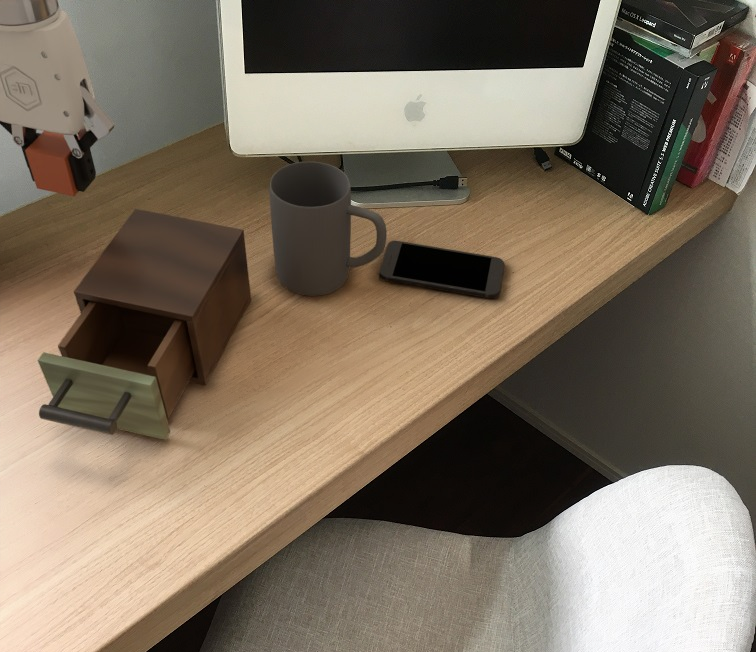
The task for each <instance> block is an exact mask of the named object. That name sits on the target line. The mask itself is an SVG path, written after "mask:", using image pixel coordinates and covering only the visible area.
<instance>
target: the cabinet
mask: <svg viewBox="0 0 756 652" xmlns="http://www.w3.org/2000/svg"><path fill="white" fill-rule="evenodd" d="M247 258H248V257H247V248H246V240H245V230H244V229H241V228H237V227H231V226H226V225H222V224H215V223H211V222H207V221H206V222H205V221H201V220H195V219H190V218H186V217H181V216H175V215H170V214H165V213H160V212H156V211H155V212H154V211H149V210H146V209H140V208H134V209H133V211H132V212H131V214H129V216H128V217H127V218H126V220H125V222H124V223H123V224H122V226H121V227H120V228H119V230H118V231H117V232H116V234H115V235H114V236H113V238H112V239H111V240H110V242H109V243H108V244H107V246H106V247H105V249H104V250H103V251H102V252H101V254H100V255H99V256H98V258H97V259H96V261H95V262H94V263H93V264H92V266H91V267H90V269H88V271H87V273H86V274H85V275H84V277H82V280H80V282H79V284H78V285H77V286H76V287H75V288H74V290H73V294H74V298H75V300H76V303H77V307H78V308H79V312H80V314H81V313H82V311H83V310H84V308H85V307H86V306H87V304H88V303H89V302H90V301H95V302H100V303H105V304H109V305H114V306H119V307H123V308H128V309H133V310H138V311H142V312H147V313H152V314H157V315H161V316H166V317H171V318H176V319H180V320H185V321H187V326H188V331H189V336H190V341H191V346H192V351H193V356H194V361H195V365H196V370H195V371H194V373H193V375H192V377H191V379H190V381H189V382H190V383H195V384H199V385H204V386H207V383H208V381H209V380H210V379H211V376H212V374H213V372H214V371H215V369H216V367H217V365H218V363H219V361H220V359H221V358H222V356H223V354H224V352H225V350H226V349H227V346H228V344H229V342H230V340H231V338H232V336H233V334H234V333H235V331H236V329H237V327H238V325H239V324H240V322H241V320H242V318H243V316H244V314H245V312H246V311H247V309H248V307H249V305H250V303H251V301H252V294H251V285H250V276H249V267H248V259H247ZM189 382H188V383H189Z"/></svg>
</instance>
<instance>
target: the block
mask: <svg viewBox="0 0 756 652" xmlns="http://www.w3.org/2000/svg"><path fill="white" fill-rule="evenodd" d="M77 137H78V139H79V140H80V138H79V136H78V135H77ZM25 152H26V155H27V158H28V161H29V165H30V168H31V171H32V174H33V177H34V181H35V182H34V181H33V182H34V183H35V187H36V189H37V190H43V191H47V192H51V193H52V192H53V193H57V194H61V195H66V196H71V197H75V196H77V194H78V193H79V192H80V191H78V190H77V189H76V185H75V181H74V178H73V174H72V170H71V167H70V163H69V157H70V156H71V154H72V153H71V151H70V148H69V146H68V144H67V142H66V140H65V138H64V136H63V134H57V133H52V132H47V131H42V132H41V134H40V135H39V137H38V138H37V139H36V140H35V141H34V142H33V143H32V144H31V145H30V146H29V147H28V148H27V149H26V150H25Z"/></svg>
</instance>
